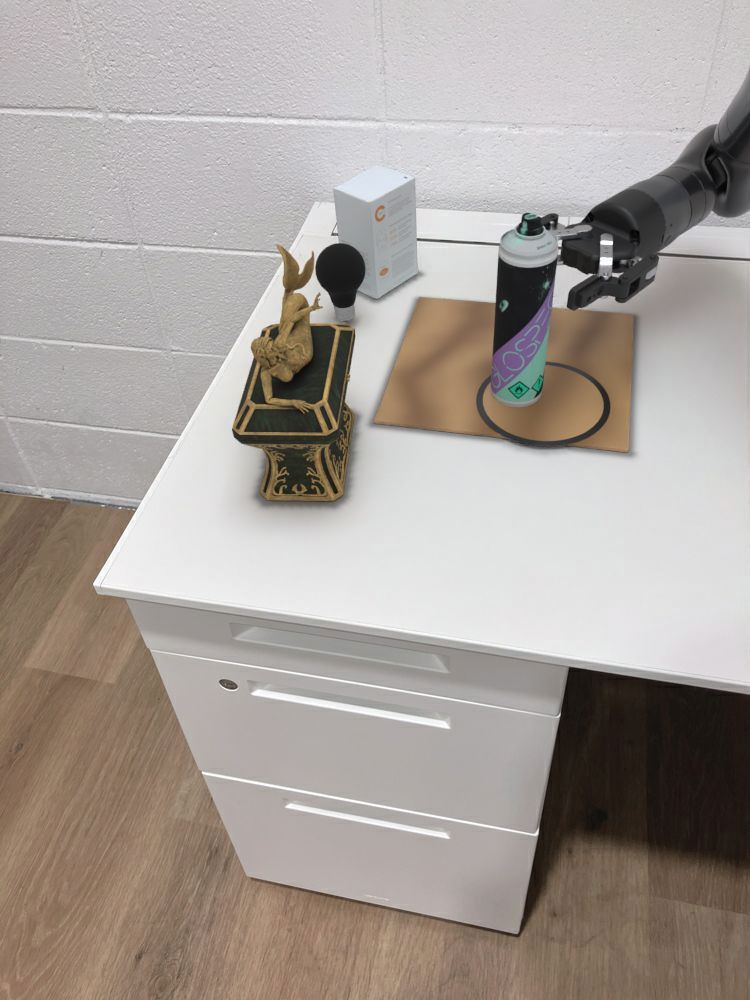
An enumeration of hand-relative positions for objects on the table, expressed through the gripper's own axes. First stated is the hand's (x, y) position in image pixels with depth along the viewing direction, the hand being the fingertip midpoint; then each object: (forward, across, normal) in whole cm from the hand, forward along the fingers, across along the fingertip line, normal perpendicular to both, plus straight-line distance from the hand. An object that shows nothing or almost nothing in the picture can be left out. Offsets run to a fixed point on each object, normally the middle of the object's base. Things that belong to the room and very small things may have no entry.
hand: (535, 284), depth 78 cm
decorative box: (+22, -10, +13) cm, 27 cm away
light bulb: (+5, -24, +13) cm, 28 cm away
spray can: (+2, 0, +12) cm, 13 cm away
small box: (-4, -28, +13) cm, 31 cm away
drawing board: (-2, -4, +13) cm, 13 cm away
